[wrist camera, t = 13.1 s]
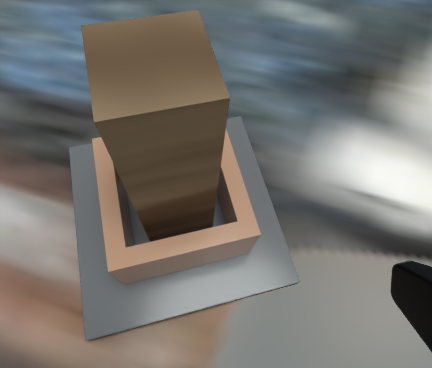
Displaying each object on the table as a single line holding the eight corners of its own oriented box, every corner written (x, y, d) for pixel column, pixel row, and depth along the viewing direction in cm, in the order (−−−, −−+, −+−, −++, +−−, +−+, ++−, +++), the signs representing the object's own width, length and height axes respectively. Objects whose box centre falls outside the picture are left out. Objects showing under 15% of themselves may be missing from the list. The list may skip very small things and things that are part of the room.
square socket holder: (296, 283, 21) (322, 268, 17) (89, 340, 19) (58, 340, 15) (239, 122, 26) (247, 79, 22) (72, 153, 24) (46, 112, 20)
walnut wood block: (212, 229, 22) (229, 97, 10) (151, 244, 21) (94, 122, 9) (197, 177, 23) (198, 10, 12) (141, 189, 23) (80, 25, 11)
